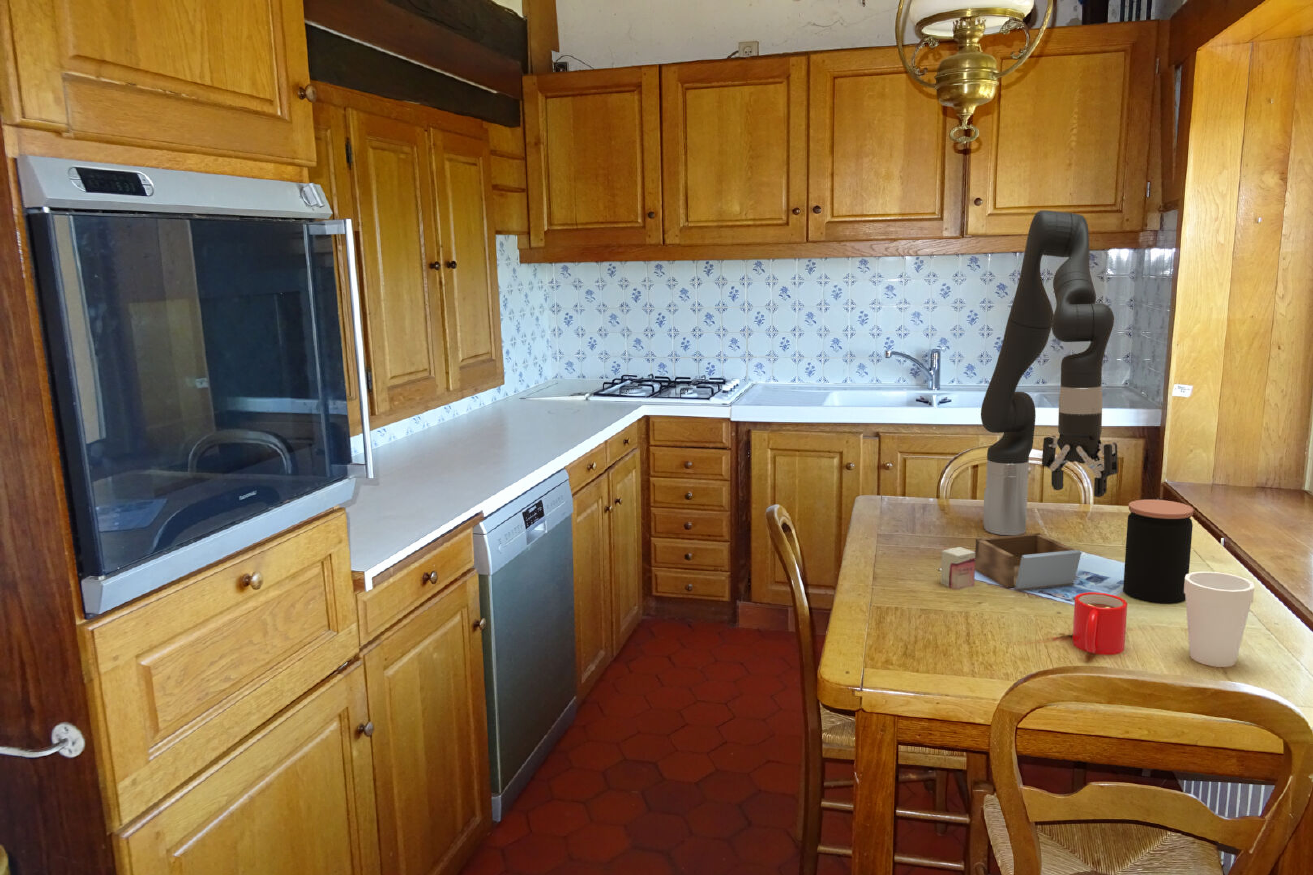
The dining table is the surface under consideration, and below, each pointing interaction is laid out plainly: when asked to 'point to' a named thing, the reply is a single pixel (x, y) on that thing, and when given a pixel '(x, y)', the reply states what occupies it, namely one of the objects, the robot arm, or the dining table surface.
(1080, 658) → the dining table surface
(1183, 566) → the coffee jar
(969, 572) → the small box
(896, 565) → the dining table surface
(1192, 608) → the foam cup
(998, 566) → the open wooden box
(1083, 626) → the mug
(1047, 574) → the panel
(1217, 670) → the dining table surface
